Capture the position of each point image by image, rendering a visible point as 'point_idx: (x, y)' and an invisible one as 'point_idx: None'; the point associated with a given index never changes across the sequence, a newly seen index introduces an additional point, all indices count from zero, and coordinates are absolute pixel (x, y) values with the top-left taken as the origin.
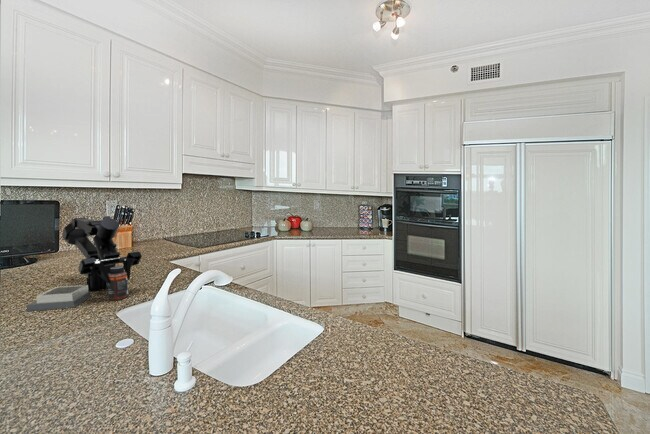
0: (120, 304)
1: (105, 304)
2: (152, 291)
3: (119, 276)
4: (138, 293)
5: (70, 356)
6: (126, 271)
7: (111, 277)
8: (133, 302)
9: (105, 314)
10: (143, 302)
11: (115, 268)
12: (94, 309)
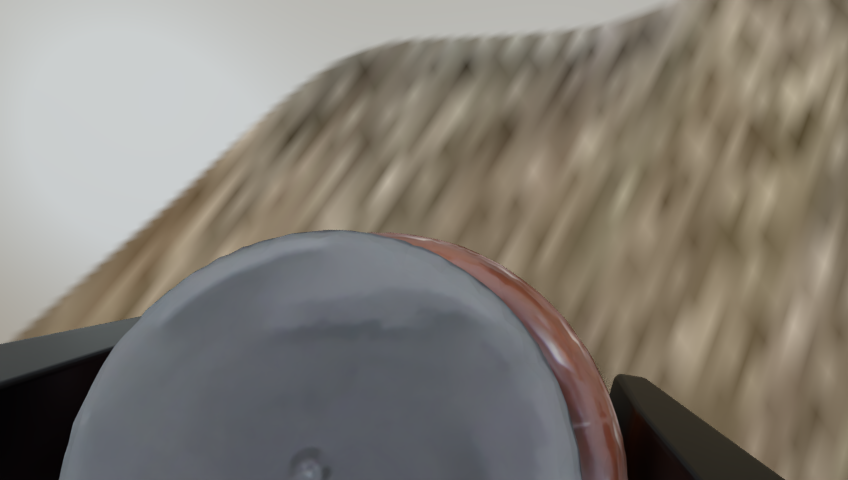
0: (551, 187)
1: (654, 348)
2: (72, 301)
3: (440, 240)
4: None
5: None
6: None
7: (589, 362)
8: (439, 126)
9: (781, 38)
10: (390, 42)
11: (467, 299)
12: (810, 284)
